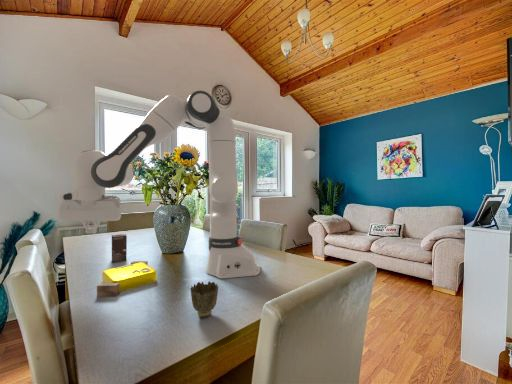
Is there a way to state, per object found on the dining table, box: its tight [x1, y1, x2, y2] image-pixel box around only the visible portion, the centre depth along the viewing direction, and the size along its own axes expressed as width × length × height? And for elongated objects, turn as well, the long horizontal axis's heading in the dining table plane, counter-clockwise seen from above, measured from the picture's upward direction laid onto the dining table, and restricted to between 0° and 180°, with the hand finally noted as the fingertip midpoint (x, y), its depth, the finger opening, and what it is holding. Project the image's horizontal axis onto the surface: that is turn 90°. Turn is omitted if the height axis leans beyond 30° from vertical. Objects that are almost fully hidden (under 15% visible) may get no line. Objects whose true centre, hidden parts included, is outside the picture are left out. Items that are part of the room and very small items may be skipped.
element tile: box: [101, 262, 157, 292], centre depth 90 cm, size 15×15×5 cm
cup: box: [189, 281, 219, 319], centre depth 66 cm, size 8×7×8 cm
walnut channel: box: [96, 260, 149, 298], centre depth 90 cm, size 6×25×4 cm, turn 2°
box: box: [111, 233, 128, 263], centre depth 114 cm, size 6×4×12 cm
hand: (91, 233), depth 89 cm, fingers closed
